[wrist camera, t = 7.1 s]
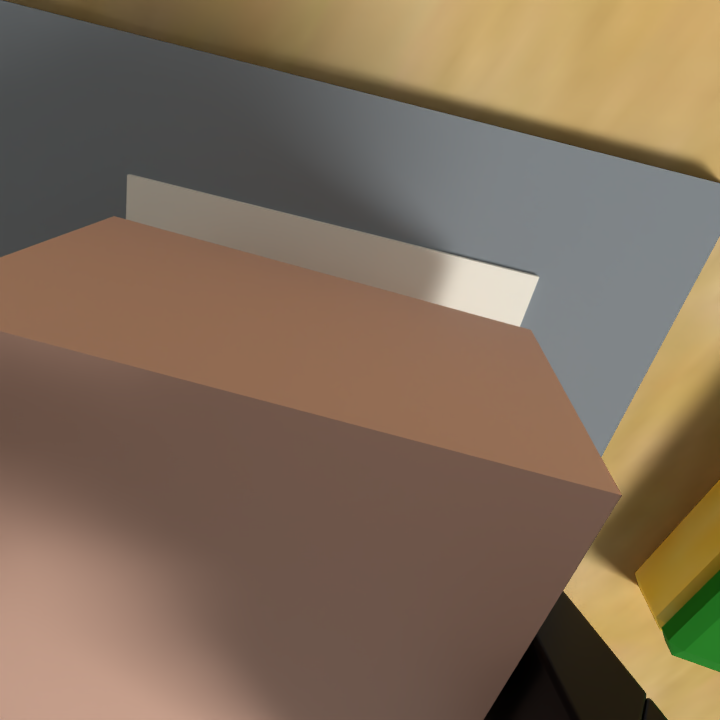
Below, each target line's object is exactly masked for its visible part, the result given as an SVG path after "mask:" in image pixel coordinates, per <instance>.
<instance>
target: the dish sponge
mask: <svg viewBox="0 0 720 720" xmlns="http://www.w3.org/2000/svg"><path fill="white" fill-rule="evenodd" d="M635 575H636V579H637V582H638V585H639V588H640V590H641V592H642V594H643V596H644V598H645V600H646V602H647V604H648V606H649V608H650V611H651V613H652V615H653V617H654V619H655V621H656V623H657V625H658V627H659V629H660V631H663V635H664V638H665V642H666V644H667V646H668V648H669V650H670V652H671V654H672V655H674V656H676V657H679V658H682V659H685V660H688V661H691V662H693V663H696V664H699V665H702V666H705V667H707V668H710V669H713V670H716V671H719V672H720V480H719V481H718V482H717V483H716V484H715V485H714V486H713V487H712V488H711V490H710V491H709V492H708V493H707V494H706V495H705V496H704V497H703V498H702V499H701V501H700V502H699V503H698V504H697V505H696V506H695V507H694V508H693V509H692V510H691V512H690V513H689V514H688V515H687V516H686V517H685V518H684V519H683V520H682V522H681V523H680V524H679V525H678V526H677V527H676V528H675V529H674V530H673V531H672V533H671V534H670V535H669V536H668V537H667V538H666V539H665V540H664V541H663V543H662V544H661V545H660V546H659V547H658V548H657V549H656V550H655V551H654V552H653V554H652V555H651V556H650V557H649V558H648V559H647V560H646V561H645V562H644V564H643V565H642V566H641V567H640V568H639V569H638V570H637V571H636V572H635Z"/></svg>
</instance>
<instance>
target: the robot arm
mask: <svg viewBox="0 0 720 720" xmlns="http://www.w3.org/2000/svg"><path fill="white" fill-rule="evenodd" d="M484 720H668V719H667V718H666V717H665V716H664V714H663V713H662V712H661V711H660V710H659V708H658V707H657V706H656V705H655V703H654V702H653V701H652V700H651V699H650V698H647V699H646V693H645V691H644V690H643V689H642V688H641V686H640V685H639V684H638V683H637V681H636V680H635V679H634V678H633V676H632V675H631V674H630V673H629V672H628V670H627V669H626V668H625V667H624V665H623V664H622V663H621V662H620V660H619V659H618V658H617V657H616V655H615V654H614V653H613V652H612V651H611V649H610V648H609V647H608V646H607V644H606V643H605V642H604V641H603V639H602V638H601V637H600V636H599V634H598V633H597V632H596V631H595V630H594V628H593V627H592V626H591V625H590V623H589V622H588V621H587V620H586V618H585V617H584V616H583V615H582V613H581V612H580V611H579V610H578V609H577V607H576V606H575V605H574V604H573V602H572V601H571V600H570V599H569V597H568V596H567V595H566V594H565V593H564V591H563V592H562V593H561V595H560V596H559V598H558V600H557V601H556V603H555V605H554V606H553V608H552V609H551V611H550V613H549V614H548V616H547V618H546V619H545V621H544V622H543V624H542V626H541V627H540V629H539V630H538V632H537V634H536V635H535V637H534V639H533V640H532V642H531V643H530V645H529V647H528V648H527V650H526V652H525V653H524V655H523V656H522V658H521V660H520V661H519V663H518V665H517V666H516V668H515V669H514V671H513V673H512V674H511V676H510V678H509V679H508V681H507V682H506V684H505V686H504V687H503V689H502V690H501V692H500V694H499V695H498V697H497V699H496V700H495V702H494V703H493V705H492V707H491V708H490V710H489V712H488V713H487V715H486V716H485V718H484Z"/></svg>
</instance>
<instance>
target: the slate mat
mask: <svg viewBox="0 0 720 720" xmlns="http://www.w3.org/2000/svg"><path fill="white" fill-rule="evenodd" d="M113 216H116V217H119V218H123V219H127V220H130V221H134V222H138V223H141V224H145V225H149V226H152V227H156V228H160V229H163V230H167V231H171V232H174V233H178V234H182V235H185V236H189V237H192V238H196V239H200V240H203V241H207V242H211V243H214V244H218V245H222V246H225V247H229V248H233V249H236V250H240V251H244V252H247V253H251V254H255V255H258V256H262V257H266V258H269V259H273V260H277V261H280V262H284V263H288V264H291V265H295V266H299V267H302V268H306V269H310V270H313V271H317V272H321V273H324V274H328V275H332V276H335V277H339V278H343V279H346V280H350V281H354V282H357V283H361V284H365V285H368V286H372V287H376V288H379V289H383V290H387V291H390V292H394V293H398V294H401V295H405V296H409V297H412V298H416V299H420V300H423V301H427V302H431V303H434V304H438V305H442V306H445V307H449V308H453V309H456V310H460V311H464V312H467V313H471V314H475V315H478V316H482V317H485V318H489V319H493V320H496V321H500V322H504V323H507V324H511V325H515V326H518V327H522V328H526V329H529V330H531V331H532V333H533V334H534V336H535V338H536V340H537V342H538V343H539V345H540V347H541V349H542V351H543V353H544V354H545V356H546V358H547V360H548V362H549V363H550V365H551V367H552V369H553V371H554V373H555V374H556V376H557V378H558V380H559V382H560V384H561V385H562V387H563V389H564V391H565V393H566V394H567V396H568V398H569V400H570V402H571V404H572V405H573V407H574V409H575V411H576V413H577V414H578V416H579V418H580V420H581V422H582V424H583V425H584V427H585V429H586V431H587V433H588V434H589V436H590V438H591V440H592V442H593V444H594V445H595V447H596V449H597V451H598V453H599V455H600V456H601V457H602V455H603V453H604V451H605V449H606V447H607V445H608V443H609V442H610V440H611V438H612V436H613V434H614V432H615V430H616V429H617V427H618V425H619V423H620V421H621V419H622V417H623V416H624V414H625V412H626V410H627V408H628V406H629V404H630V402H631V401H632V399H633V397H634V395H635V393H636V391H637V389H638V388H639V386H640V384H641V382H642V380H643V378H644V376H645V374H646V373H647V371H648V369H649V367H650V365H651V363H652V361H653V360H654V358H655V356H656V354H657V352H658V350H659V348H660V347H661V345H662V343H663V341H664V339H665V337H666V335H667V333H668V332H669V330H670V328H671V326H672V324H673V322H674V320H675V319H676V317H677V315H678V313H679V311H680V309H681V307H682V305H683V304H684V302H685V300H686V298H687V296H688V294H689V292H690V291H691V289H692V287H693V285H694V283H695V281H696V279H697V277H698V276H699V274H700V272H701V270H702V268H703V266H704V264H705V263H706V261H707V259H708V257H709V255H710V253H711V251H712V250H713V248H714V246H715V244H716V242H717V240H718V238H719V236H720V183H717V182H713V181H709V180H705V179H701V178H697V177H693V176H689V175H685V174H681V173H678V172H674V171H670V170H666V169H662V168H658V167H654V166H650V165H646V164H642V163H638V162H634V161H630V160H627V159H623V158H619V157H615V156H611V155H607V154H603V153H599V152H595V151H591V150H587V149H583V148H579V147H576V146H572V145H568V144H564V143H560V142H556V141H552V140H548V139H544V138H540V137H536V136H532V135H528V134H525V133H521V132H517V131H513V130H509V129H505V128H501V127H497V126H493V125H489V124H485V123H481V122H477V121H474V120H470V119H466V118H462V117H458V116H454V115H450V114H446V113H442V112H438V111H434V110H430V109H427V108H423V107H419V106H415V105H411V104H407V103H403V102H399V101H395V100H391V99H387V98H383V97H379V96H376V95H372V94H368V93H364V92H360V91H356V90H352V89H348V88H344V87H340V86H336V85H332V84H328V83H325V82H321V81H317V80H313V79H309V78H305V77H301V76H297V75H293V74H289V73H285V72H281V71H277V70H274V69H270V68H266V67H262V66H258V65H254V64H250V63H246V62H242V61H238V60H234V59H230V58H226V57H223V56H219V55H215V54H211V53H207V52H203V51H199V50H195V49H191V48H187V47H183V46H179V45H176V44H172V43H168V42H164V41H160V40H156V39H152V38H148V37H144V36H140V35H136V34H132V33H128V32H125V31H121V30H117V29H113V28H109V27H105V26H101V25H97V24H93V23H89V22H85V21H81V20H77V19H74V18H70V17H66V16H62V15H58V14H54V13H50V12H46V11H42V10H38V9H34V8H30V7H26V6H23V5H19V4H15V3H11V2H7V1H3V0H0V257H3V256H5V255H8V254H11V253H14V252H17V251H19V250H22V249H25V248H28V247H30V246H33V245H36V244H39V243H41V242H44V241H47V240H50V239H52V238H55V237H58V236H61V235H63V234H66V233H69V232H72V231H74V230H77V229H80V228H83V227H85V226H88V225H91V224H94V223H96V222H99V221H102V220H105V219H107V218H110V217H113Z"/></svg>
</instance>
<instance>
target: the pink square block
mask: <svg viewBox="0 0 720 720" xmlns="http://www.w3.org/2000/svg"><path fill="white" fill-rule="evenodd" d="M621 496H622V495H621V493H620V491H619V489H618V487H617V485H616V484H615V482H614V480H613V478H612V476H611V475H610V473H609V471H608V469H607V467H606V465H605V464H604V462H603V460H602V458H601V456H600V455H599V453H598V451H597V449H596V447H595V445H594V444H593V442H592V440H591V438H590V436H589V434H588V433H587V431H586V429H585V427H584V425H583V424H582V422H581V420H580V418H579V416H578V414H577V413H576V411H575V409H574V407H573V405H572V404H571V402H570V400H569V398H568V396H567V394H566V393H565V391H564V389H563V387H562V385H561V384H560V382H559V380H558V378H557V376H556V374H555V373H554V371H553V369H552V367H551V365H550V363H549V362H548V360H547V358H546V356H545V354H544V353H543V351H542V349H541V347H540V345H539V343H538V342H537V340H536V338H535V336H534V334H533V333H532V331H531V330H529V329H526V328H522V327H518V326H515V325H511V324H507V323H504V322H500V321H496V320H493V319H489V318H485V317H482V316H478V315H475V314H471V313H467V312H464V311H460V310H456V309H453V308H449V307H445V306H442V305H438V304H434V303H431V302H427V301H423V300H420V299H416V298H412V297H409V296H405V295H401V294H398V293H394V292H390V291H387V290H383V289H379V288H376V287H372V286H368V285H365V284H361V283H357V282H354V281H350V280H346V279H343V278H339V277H335V276H332V275H328V274H324V273H321V272H317V271H313V270H310V269H306V268H302V267H299V266H295V265H291V264H288V263H284V262H280V261H277V260H273V259H269V258H266V257H262V256H258V255H255V254H251V253H247V252H244V251H240V250H236V249H233V248H229V247H225V246H222V245H218V244H214V243H211V242H207V241H203V240H200V239H196V238H192V237H189V236H185V235H182V234H178V233H174V232H171V231H167V230H163V229H160V228H156V227H152V226H149V225H145V224H141V223H138V222H134V221H130V220H127V219H123V218H119V217H116V216H113V217H110V218H107V219H105V220H102V221H99V222H96V223H94V224H91V225H88V226H85V227H83V228H80V229H77V230H74V231H72V232H69V233H66V234H63V235H61V236H58V237H55V238H52V239H50V240H47V241H44V242H41V243H39V244H36V245H33V246H30V247H28V248H25V249H22V250H19V251H17V252H14V253H11V254H8V255H5V256H3V257H0V720H484V718H485V716H486V715H487V713H488V712H489V710H490V708H491V707H492V705H493V703H494V702H495V700H496V699H497V697H498V695H499V694H500V692H501V690H502V689H503V687H504V686H505V684H506V682H507V681H508V679H509V678H510V676H511V674H512V673H513V671H514V669H515V668H516V666H517V665H518V663H519V661H520V660H521V658H522V656H523V655H524V653H525V652H526V650H527V648H528V647H529V645H530V643H531V642H532V640H533V639H534V637H535V635H536V634H537V632H538V630H539V629H540V627H541V626H542V624H543V622H544V621H545V619H546V618H547V616H548V614H549V613H550V611H551V609H552V608H553V606H554V605H555V603H556V601H557V600H558V598H559V596H560V595H561V593H562V592H563V590H564V588H565V587H566V585H567V583H568V582H569V580H570V579H571V577H572V575H573V574H574V572H575V570H576V569H577V567H578V566H579V564H580V562H581V561H582V559H583V558H584V556H585V554H586V553H587V551H588V549H589V548H590V546H591V545H592V543H593V541H594V540H595V538H596V536H597V535H598V533H599V532H600V530H601V528H602V527H603V525H604V523H605V522H606V520H607V519H608V517H609V515H610V514H611V512H612V510H613V509H614V507H615V506H616V504H617V502H618V501H619V499H620V498H621Z"/></svg>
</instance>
